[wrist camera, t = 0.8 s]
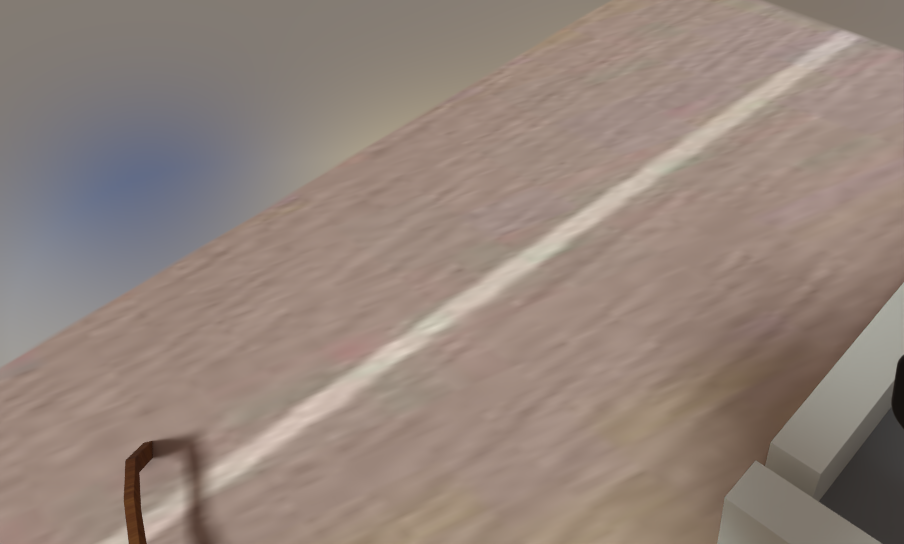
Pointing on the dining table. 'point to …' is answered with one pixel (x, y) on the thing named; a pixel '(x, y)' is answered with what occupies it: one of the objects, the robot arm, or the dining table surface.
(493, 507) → the dining table surface
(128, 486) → the glasses
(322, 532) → the dining table surface
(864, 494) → the socket block
